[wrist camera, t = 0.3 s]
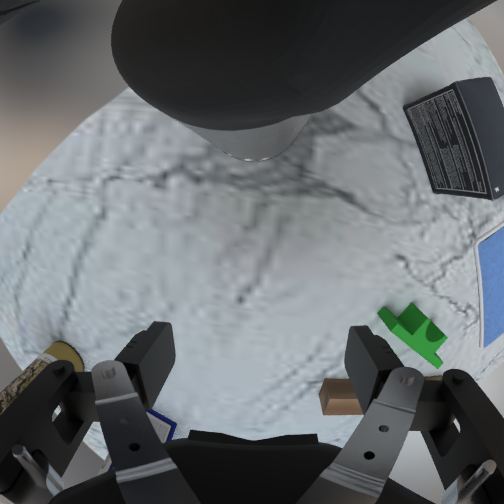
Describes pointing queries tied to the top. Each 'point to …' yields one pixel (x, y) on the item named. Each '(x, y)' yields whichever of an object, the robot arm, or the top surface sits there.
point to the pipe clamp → (416, 332)
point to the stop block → (343, 397)
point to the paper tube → (38, 371)
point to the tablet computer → (490, 283)
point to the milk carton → (161, 427)
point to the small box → (462, 138)
